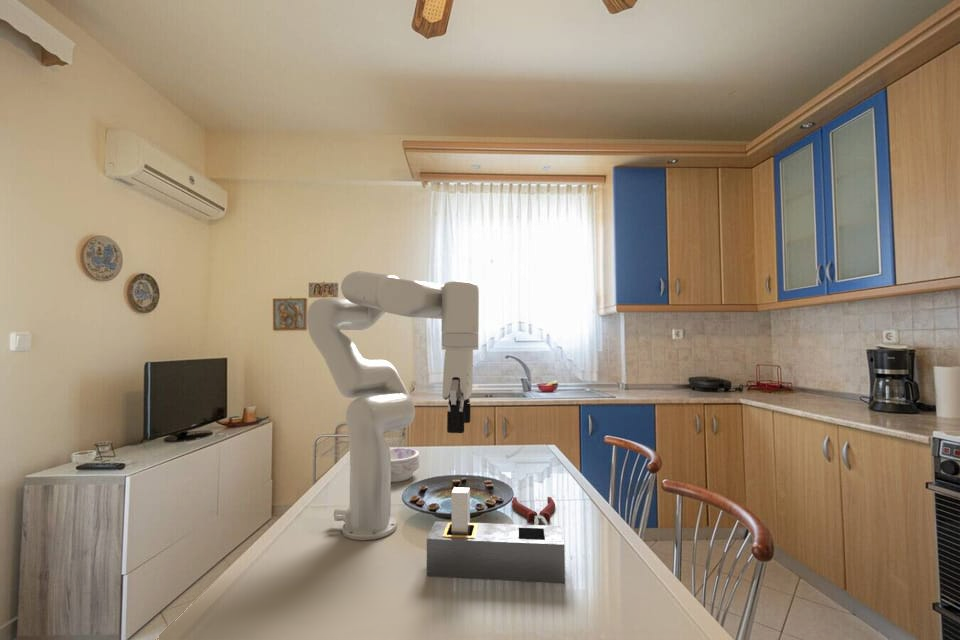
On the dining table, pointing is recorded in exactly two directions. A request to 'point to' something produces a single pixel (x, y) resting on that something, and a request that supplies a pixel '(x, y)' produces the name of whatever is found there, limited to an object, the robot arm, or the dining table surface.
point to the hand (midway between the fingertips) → (459, 427)
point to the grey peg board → (497, 552)
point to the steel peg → (461, 511)
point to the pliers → (532, 515)
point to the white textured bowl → (403, 463)
